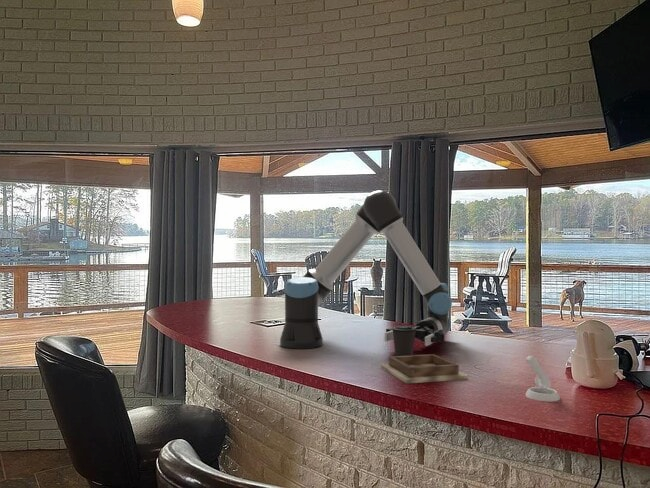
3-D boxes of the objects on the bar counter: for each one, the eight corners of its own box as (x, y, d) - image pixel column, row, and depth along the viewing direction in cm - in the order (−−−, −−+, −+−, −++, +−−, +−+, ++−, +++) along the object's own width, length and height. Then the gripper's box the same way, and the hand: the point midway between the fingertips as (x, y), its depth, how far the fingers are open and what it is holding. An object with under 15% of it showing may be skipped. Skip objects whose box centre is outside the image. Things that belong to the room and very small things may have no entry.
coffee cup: (410, 361, 167) (410, 329, 167) (386, 358, 172) (386, 326, 172) (420, 356, 174) (420, 325, 174) (397, 353, 179) (397, 323, 178)
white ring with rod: (501, 373, 132) (517, 354, 135) (529, 412, 133) (545, 392, 136) (522, 373, 125) (539, 354, 128) (552, 414, 126) (568, 394, 129)
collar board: (406, 383, 142) (406, 370, 142) (381, 367, 159) (381, 355, 159) (467, 379, 147) (468, 366, 146) (437, 364, 164) (437, 352, 164)
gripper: (463, 344, 185) (443, 355, 166) (395, 337, 197) (369, 347, 179) (463, 321, 185) (443, 331, 166) (395, 316, 197) (369, 324, 179)
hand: (405, 339), depth 172 cm, fingers open, 13 cm apart
